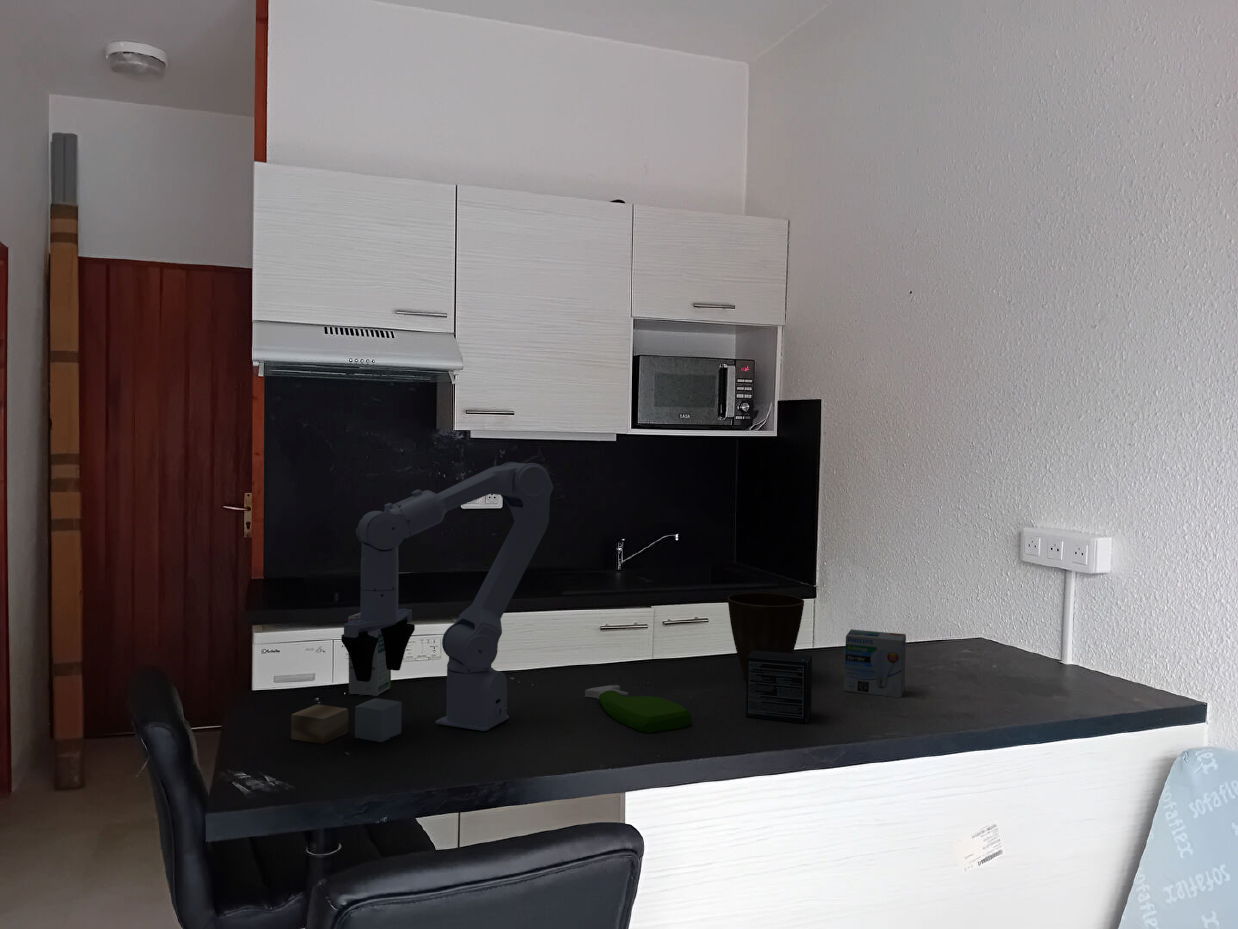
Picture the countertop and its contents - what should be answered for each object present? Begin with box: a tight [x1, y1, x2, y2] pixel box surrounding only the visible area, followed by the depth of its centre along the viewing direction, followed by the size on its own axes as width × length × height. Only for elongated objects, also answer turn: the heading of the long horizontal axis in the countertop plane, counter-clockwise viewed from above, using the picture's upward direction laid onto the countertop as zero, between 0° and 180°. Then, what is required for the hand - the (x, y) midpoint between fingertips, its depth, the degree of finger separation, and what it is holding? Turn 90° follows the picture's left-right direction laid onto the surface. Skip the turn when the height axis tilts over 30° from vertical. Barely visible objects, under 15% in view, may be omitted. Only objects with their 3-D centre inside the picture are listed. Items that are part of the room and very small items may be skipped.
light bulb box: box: [843, 628, 907, 699], centre depth 175 cm, size 11×7×11 cm, turn 68°
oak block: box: [290, 703, 349, 745], centre depth 144 cm, size 6×6×4 cm
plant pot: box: [727, 592, 805, 680], centre depth 182 cm, size 15×15×16 cm
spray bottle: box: [584, 684, 692, 734], centre depth 160 cm, size 3×11×24 cm
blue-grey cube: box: [354, 697, 402, 743], centre depth 144 cm, size 5×5×5 cm
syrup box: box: [347, 612, 392, 697], centre depth 169 cm, size 6×6×14 cm
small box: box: [745, 650, 813, 724], centre depth 158 cm, size 11×6×10 cm, turn 71°
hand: (378, 675), depth 144 cm, fingers open, 7 cm apart
